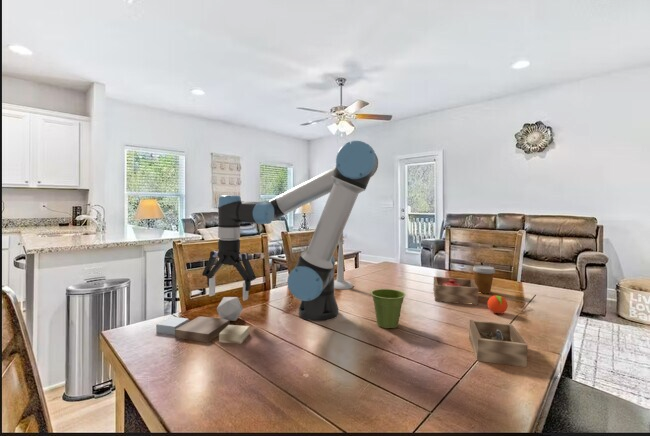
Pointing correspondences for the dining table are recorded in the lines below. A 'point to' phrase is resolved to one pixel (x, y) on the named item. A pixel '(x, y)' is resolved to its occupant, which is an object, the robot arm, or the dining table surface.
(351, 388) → the dining table surface
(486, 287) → the disposable coffee cup
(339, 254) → the candlestick
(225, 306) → the die
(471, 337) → the tray
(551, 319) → the dining table surface
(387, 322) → the plant pot
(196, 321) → the walnut block
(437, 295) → the wooden box
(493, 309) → the clementine
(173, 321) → the grey block
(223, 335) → the oak block
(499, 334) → the eagle figurine
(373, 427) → the dining table surface
